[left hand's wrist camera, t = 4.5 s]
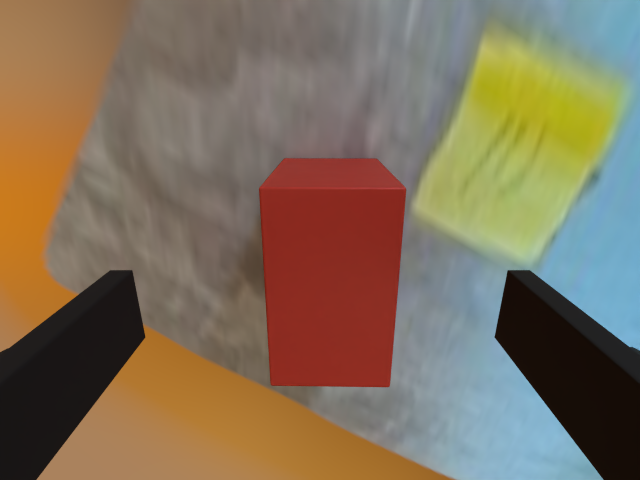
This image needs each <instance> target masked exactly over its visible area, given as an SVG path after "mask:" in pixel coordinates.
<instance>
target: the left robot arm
mask: <svg viewBox="0 0 640 480" xmlns="http://www.w3.org/2000/svg"><path fill="white" fill-rule="evenodd" d="M144 338H145V333H144V328H143V323H142V318H141V313H140V308H139V302H138V297H137V292H136V287H135V282H134V277H133V272H132V270H110V271H109V272H108V273H106V274H105V275H104V276H102V277H101V278H100V279H98V280H97V281H96V282H95V283H93V284H92V285H91V286H89V287H88V288H87V289H85V290H84V291H83V292H82V293H80V294H79V295H78V296H76V297H75V298H74V299H72V300H71V301H70V302H69V303H67V304H66V305H65V306H63V307H62V308H61V309H59V310H58V311H57V312H56V313H54V314H53V315H52V316H50V317H49V318H48V319H47V320H45V321H44V322H43V323H41V324H40V325H39V326H37V327H36V328H35V329H33V330H32V331H31V332H30V333H28V334H27V335H26V336H24V337H23V338H22V339H20V340H19V341H18V342H17V343H15V344H14V345H13V346H11V347H10V348H8V349H6V350H4V351H2V352H0V480H36V479H37V478H38V477H39V475H40V474H41V473H42V472H43V470H44V469H45V468H46V466H47V465H48V464H49V462H50V461H51V460H52V459H53V457H54V456H55V454H56V453H57V452H58V451H59V449H60V448H61V447H62V445H63V444H64V443H65V442H66V440H67V439H68V438H69V436H70V435H71V434H72V432H73V431H74V430H75V428H76V427H77V426H78V425H79V423H80V422H81V421H82V419H83V418H84V417H85V415H86V414H87V413H88V411H89V410H90V409H91V408H92V406H93V405H94V404H95V402H96V401H97V400H98V398H99V397H100V396H101V394H102V393H103V392H104V391H105V389H106V388H107V387H108V385H109V384H110V383H111V381H112V380H113V379H114V377H115V376H116V375H117V374H118V372H119V371H120V370H121V368H122V367H123V366H124V364H125V363H126V362H127V361H128V359H129V358H130V357H131V355H132V354H133V353H134V351H135V350H136V349H137V347H138V346H139V345H140V343H141V342H142V341H143V340H144ZM495 338H496V340H497V341H498V342H499V344H500V345H501V346H502V347H503V349H504V350H505V351H506V353H507V354H508V355H509V357H510V358H511V359H512V361H513V362H514V363H515V364H516V366H517V367H518V368H519V370H520V371H521V372H522V374H523V375H524V376H525V377H526V379H527V380H528V381H529V383H530V384H531V385H532V387H533V388H534V389H535V391H536V392H537V393H538V394H539V396H540V397H541V398H542V400H543V401H544V402H545V404H546V405H547V406H548V408H549V409H550V410H551V411H552V413H553V414H554V415H555V417H556V418H557V419H558V421H559V422H560V423H561V425H562V426H563V427H564V428H565V430H566V431H567V432H568V434H569V435H570V436H571V438H572V439H573V440H574V442H575V443H576V444H577V445H578V447H579V448H580V449H581V451H582V452H583V453H584V455H585V456H586V457H587V459H588V460H589V461H590V462H591V464H592V465H593V466H594V468H595V469H596V470H597V472H598V473H599V474H600V475H601V477H602V478H603V479H604V480H640V351H639V350H637V349H635V348H633V347H629V346H627V345H626V344H625V343H623V342H622V341H621V340H619V339H618V338H617V337H616V336H614V335H613V334H612V333H610V332H609V331H608V330H607V329H605V328H604V327H603V326H601V325H600V324H599V323H597V322H596V321H595V320H594V319H592V318H591V317H590V316H588V315H587V314H586V313H584V312H583V311H582V310H581V309H579V308H578V307H577V306H575V305H574V304H573V303H571V302H570V301H569V300H568V299H566V298H565V297H564V296H562V295H561V294H560V293H558V292H557V291H556V290H555V289H553V288H552V287H551V286H549V285H548V284H547V283H545V282H544V281H543V280H542V279H540V278H539V277H538V276H536V275H535V274H534V273H532V272H531V271H530V270H508V272H507V277H506V282H505V287H504V292H503V297H502V302H501V308H500V313H499V318H498V323H497V328H496V333H495Z"/></svg>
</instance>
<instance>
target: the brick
mask: <svg viewBox="0 0 640 480" xmlns="http://www.w3.org/2000/svg"><path fill="white" fill-rule="evenodd" d="M259 196H260V213H261V230H262V247H263V264H264V281H265V298H266V315H267V332H268V349H269V366H270V382H271V385H272V386H341V387H389V386H390V378H391V366H392V354H393V342H394V330H395V318H396V306H397V294H398V282H399V270H400V258H401V246H402V234H403V222H404V210H405V198H406V188H405V187H404V186H403V185H402V184H401V183H400V182H399V181H398V180H397V179H396V178H395V177H394V176H393V175H392V174H391V173H390V172H389V171H388V170H387V169H386V168H385V167H384V166H383V165H382V164H381V163H380V162H379V161H378V160H377V159H289V158H285V159H283V161H282V162H281V163H280V164H279V165H278V166H277V168H276V169H275V170H274V171H273V172H272V173H271V175H270V176H269V177H268V178H267V179H266V181H265V182H264V183H263V184H262V185H261V186H260V188H259Z"/></svg>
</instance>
